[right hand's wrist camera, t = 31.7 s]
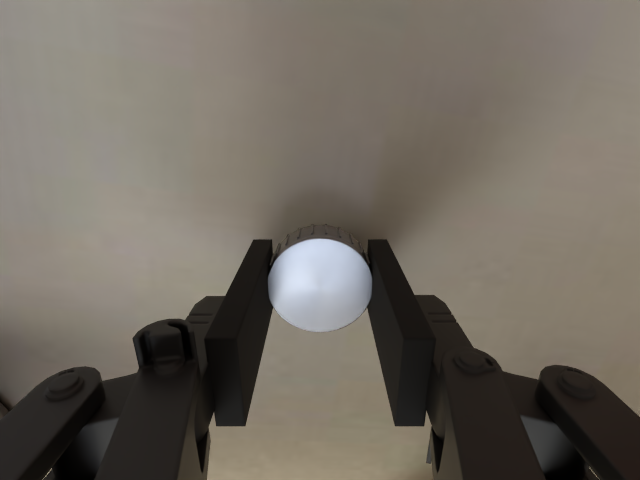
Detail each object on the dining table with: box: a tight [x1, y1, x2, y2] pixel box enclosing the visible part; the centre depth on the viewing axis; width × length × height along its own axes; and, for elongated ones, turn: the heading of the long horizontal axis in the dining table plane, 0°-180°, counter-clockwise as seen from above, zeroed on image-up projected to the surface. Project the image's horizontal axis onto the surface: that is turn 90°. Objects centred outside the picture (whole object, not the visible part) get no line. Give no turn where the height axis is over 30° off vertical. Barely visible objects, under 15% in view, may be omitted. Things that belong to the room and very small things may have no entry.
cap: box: [268, 224, 372, 332], centre depth 14 cm, size 4×4×2 cm
